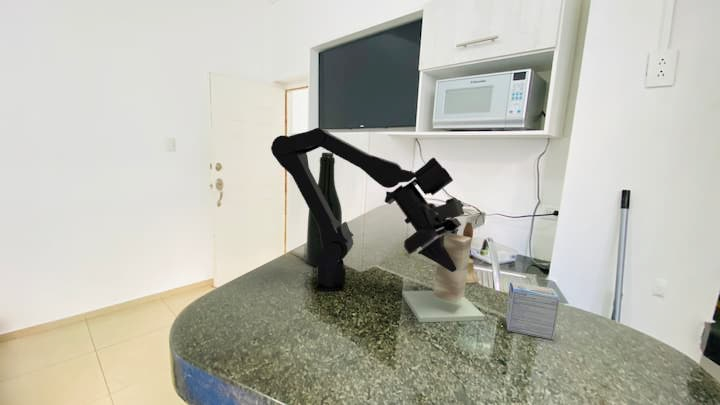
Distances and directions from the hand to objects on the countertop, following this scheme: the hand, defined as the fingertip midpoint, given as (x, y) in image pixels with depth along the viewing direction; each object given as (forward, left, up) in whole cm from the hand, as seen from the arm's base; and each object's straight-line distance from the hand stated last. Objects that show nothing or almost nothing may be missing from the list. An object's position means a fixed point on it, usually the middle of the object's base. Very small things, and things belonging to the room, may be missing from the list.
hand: (458, 267), depth 62 cm
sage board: (-2, +3, -10) cm, 11 cm away
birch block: (-1, +1, -7) cm, 7 cm away
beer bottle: (-27, +32, -10) cm, 43 cm away
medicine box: (+12, -7, -11) cm, 18 cm away
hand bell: (+12, +19, -10) cm, 25 cm away
